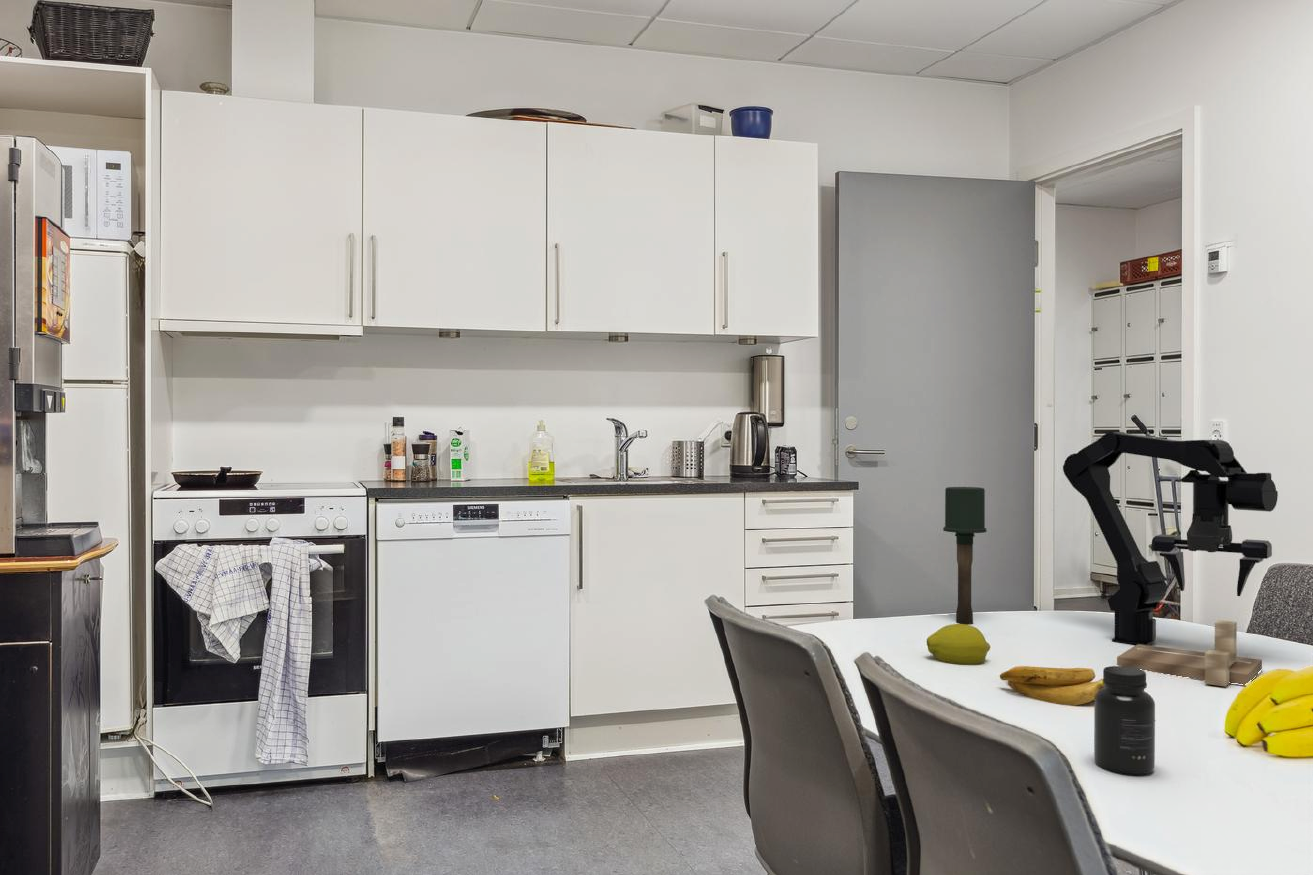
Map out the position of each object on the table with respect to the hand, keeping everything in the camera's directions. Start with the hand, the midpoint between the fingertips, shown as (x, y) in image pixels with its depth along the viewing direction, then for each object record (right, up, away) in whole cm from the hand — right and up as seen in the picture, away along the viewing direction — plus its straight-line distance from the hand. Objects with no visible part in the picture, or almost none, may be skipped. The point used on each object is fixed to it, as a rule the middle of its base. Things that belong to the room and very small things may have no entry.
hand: (1210, 593), depth 184 cm
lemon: (-49, -12, -9) cm, 51 cm away
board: (-8, -12, -9) cm, 17 cm away
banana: (-38, -13, -27) cm, 48 cm away
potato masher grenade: (-38, -12, +23) cm, 46 cm away
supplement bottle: (-44, -12, -60) cm, 75 cm away
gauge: (-6, -12, -15) cm, 20 cm away
